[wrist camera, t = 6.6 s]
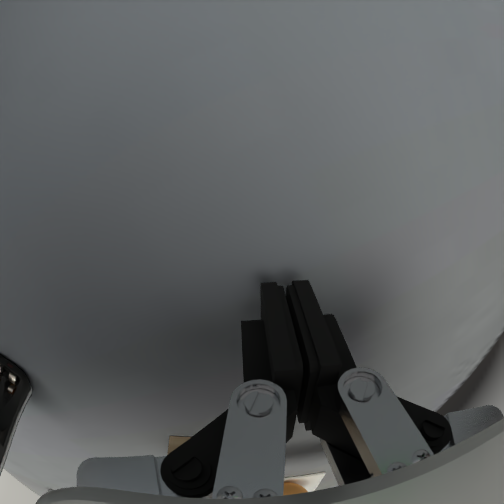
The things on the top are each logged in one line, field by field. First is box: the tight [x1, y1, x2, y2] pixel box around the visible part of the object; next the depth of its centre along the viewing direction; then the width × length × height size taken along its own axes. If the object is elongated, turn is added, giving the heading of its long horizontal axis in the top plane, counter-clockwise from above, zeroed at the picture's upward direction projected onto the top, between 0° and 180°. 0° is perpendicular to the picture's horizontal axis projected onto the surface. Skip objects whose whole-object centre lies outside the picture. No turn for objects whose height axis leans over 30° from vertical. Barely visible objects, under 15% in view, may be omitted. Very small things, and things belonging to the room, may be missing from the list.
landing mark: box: [284, 472, 326, 492], centre depth 25 cm, size 12×12×1 cm
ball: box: [283, 482, 308, 496], centre depth 21 cm, size 6×6×6 cm
